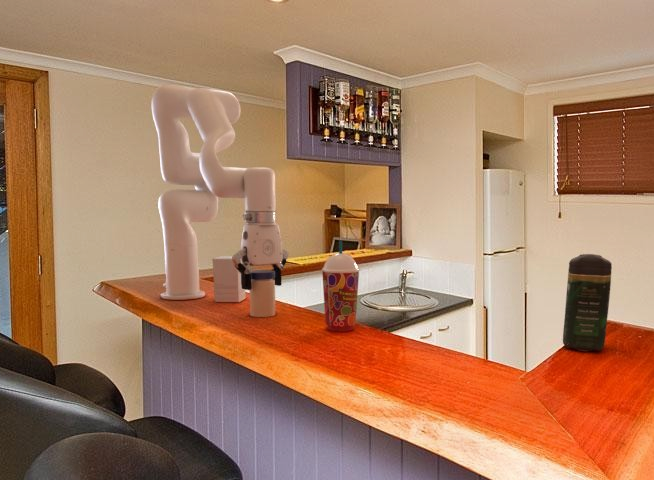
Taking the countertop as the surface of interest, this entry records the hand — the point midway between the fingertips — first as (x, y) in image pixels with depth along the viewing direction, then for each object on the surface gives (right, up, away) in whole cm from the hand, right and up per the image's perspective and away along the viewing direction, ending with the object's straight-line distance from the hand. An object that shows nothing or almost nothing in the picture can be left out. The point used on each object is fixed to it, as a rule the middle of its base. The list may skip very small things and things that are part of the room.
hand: (261, 287), depth 141 cm
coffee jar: (+69, -13, -29) cm, 76 cm away
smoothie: (+20, -10, -15) cm, 27 cm away
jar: (0, -7, +1) cm, 7 cm away
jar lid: (0, +4, -1) cm, 4 cm away
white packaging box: (-13, -4, +21) cm, 25 cm away
